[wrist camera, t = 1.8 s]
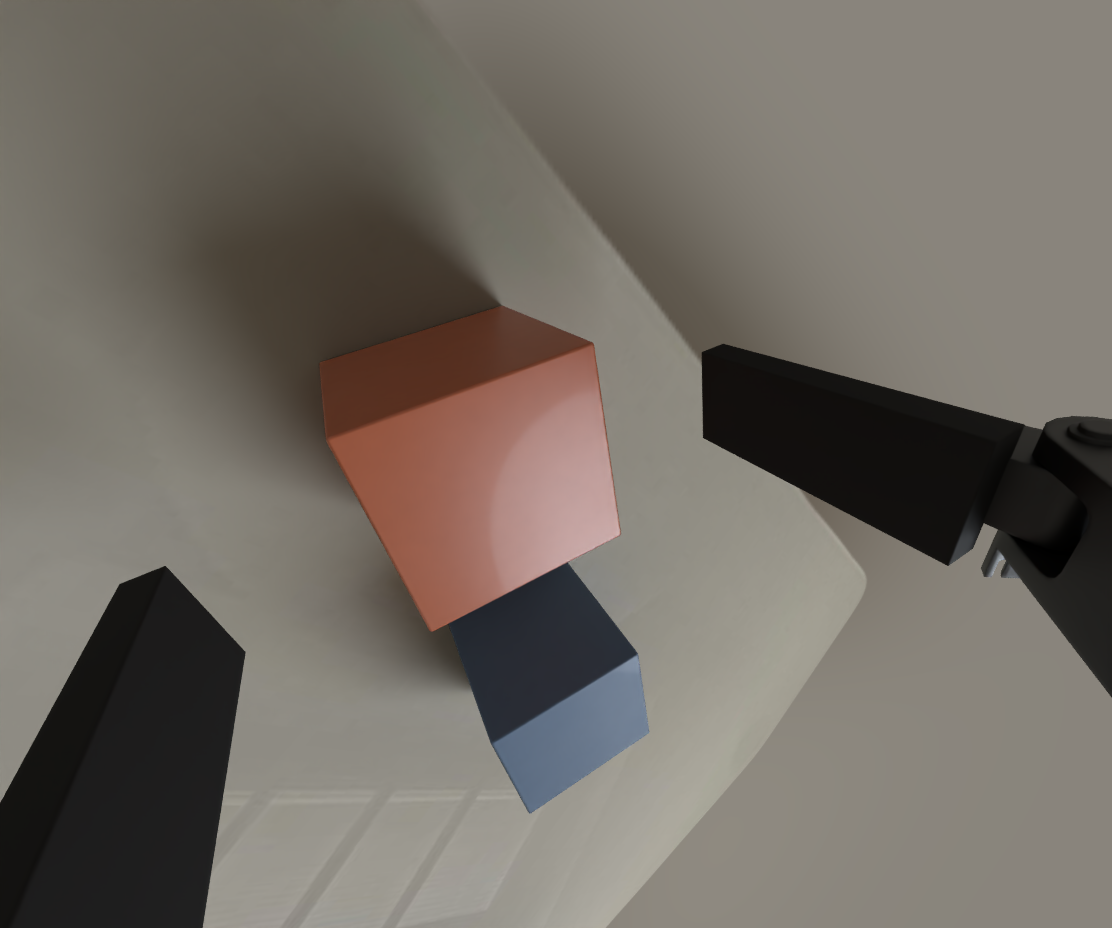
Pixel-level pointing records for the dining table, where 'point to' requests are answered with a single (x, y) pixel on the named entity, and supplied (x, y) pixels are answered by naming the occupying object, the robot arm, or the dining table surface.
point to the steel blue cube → (551, 683)
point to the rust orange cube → (474, 454)
